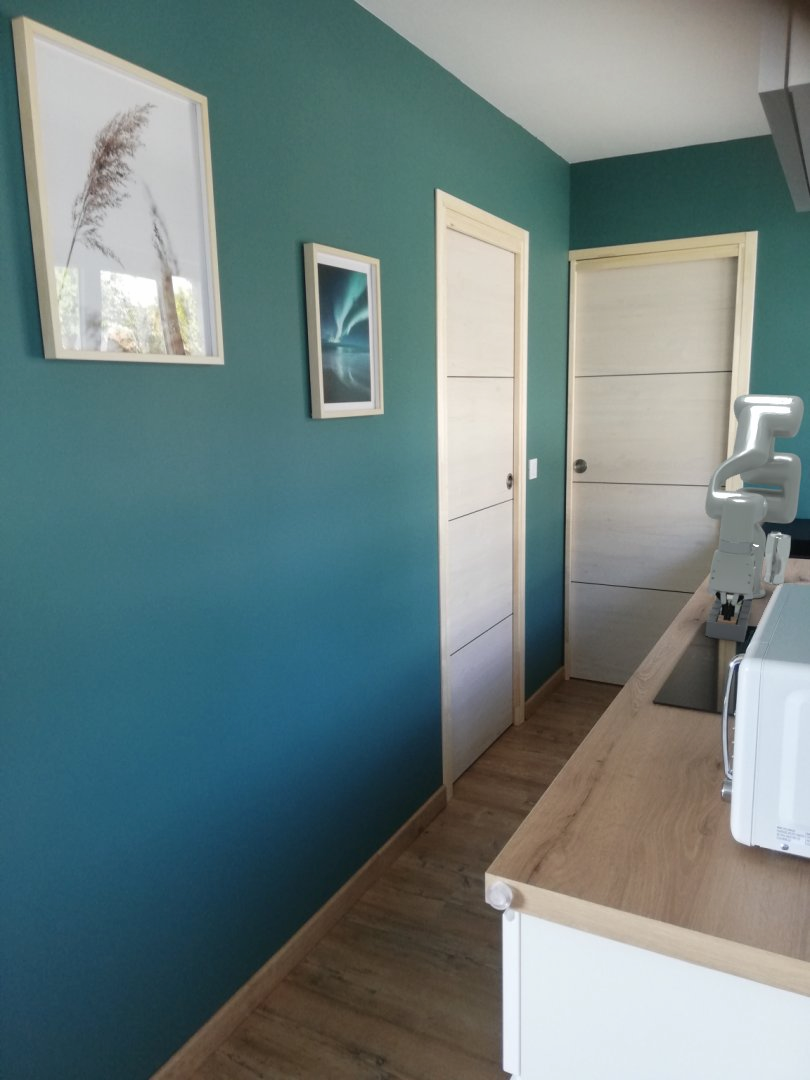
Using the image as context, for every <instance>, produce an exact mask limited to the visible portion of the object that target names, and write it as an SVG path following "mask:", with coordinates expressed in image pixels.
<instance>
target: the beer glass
mask: <svg viewBox="0 0 810 1080" xmlns="http://www.w3.org/2000/svg"><path fill="white" fill-rule="evenodd" d="M791 538H792V536H791V535H789V534H786V533H785V534H784V533H768V534H767V536H766V543H765V552H764V560H765V572H764V577H763V580H762V581H763V583H765V584H768V585H773V586H774V584H776V583H777V584H776V585H775V586H779V585H778V584H780V583H784V584H785V570H786V566H787V563H788V561H789V559H790V558H789V557H790V554H791V553H790V552H791V542H792V541H791V540H792V539H791Z"/></svg>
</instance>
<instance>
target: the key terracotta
mask: <svg viewBox="0 0 810 1080" xmlns="http://www.w3.org/2000/svg"><path fill="white" fill-rule="evenodd" d="M727 617H728V616H727ZM723 619H724V616H722V615H719V617H718V621H717V622H722V623H729V624H736V623H737V617H731V620H730V621H728V620H723Z"/></svg>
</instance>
